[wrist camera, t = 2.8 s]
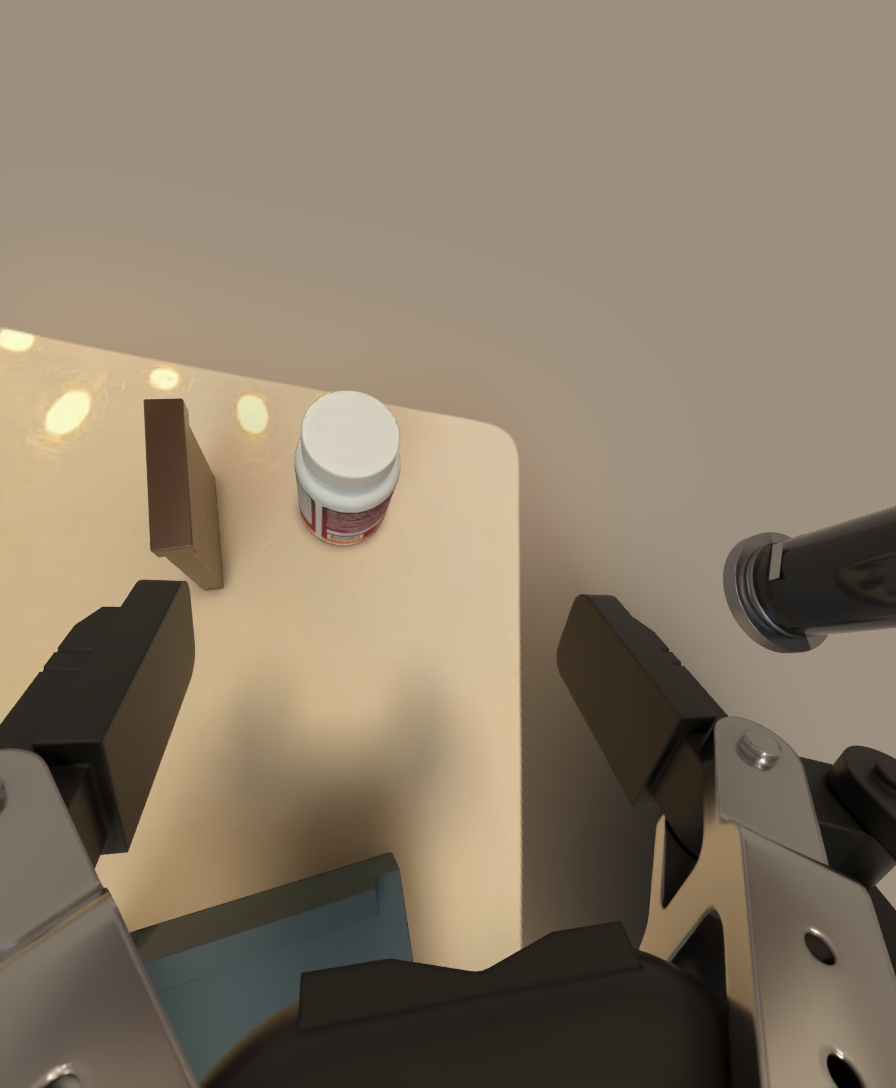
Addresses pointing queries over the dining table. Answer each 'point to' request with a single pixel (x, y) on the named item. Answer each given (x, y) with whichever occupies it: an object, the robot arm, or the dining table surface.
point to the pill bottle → (346, 466)
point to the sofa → (269, 951)
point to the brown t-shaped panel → (181, 494)
